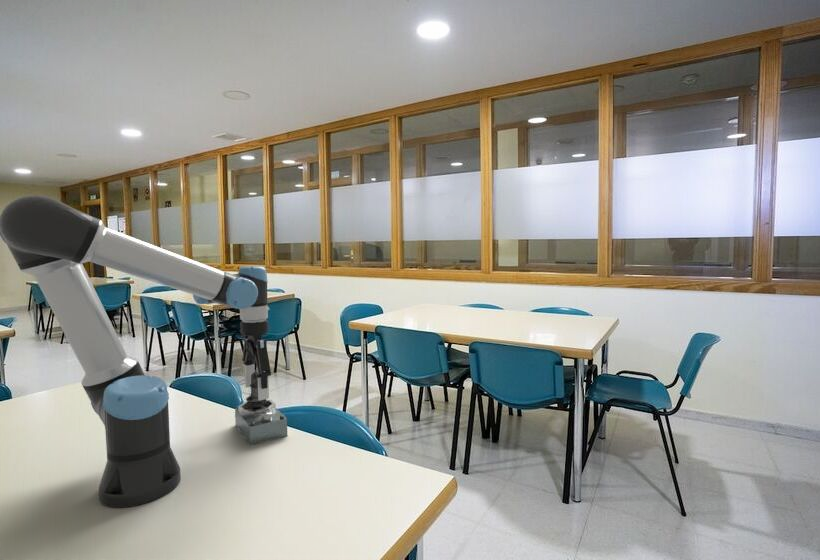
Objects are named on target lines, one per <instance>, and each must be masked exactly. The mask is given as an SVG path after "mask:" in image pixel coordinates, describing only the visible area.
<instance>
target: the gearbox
mask: <svg viewBox="0 0 820 560" xmlns="http://www.w3.org/2000/svg"><path fill="white" fill-rule="evenodd" d="M263 406H265V407H266V408H265V409H260V410H255V411H254V410H248V409H249V408H250V406H249V405H248V403H247V401H244V402H243V403H242V404H240V405H238V406H237V407H235V408H234V418H235V419H234V421H235V426H236V428H237V429H238V430H239V432H240V433H241V435H242V436H243V438H245V440H246V442H248V444H249V445H250V446H253V445H254V446H255V445H257V444H261V443H264V442H269V441H272V440H277V439H280V438H284V437H288V418H287V417H286V415H284V413H282V411H280V410H279V409H278V408H276V403H275V402H274V400H272V399H266V402H265V404H264V405H263Z"/></svg>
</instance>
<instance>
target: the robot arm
mask: <svg viewBox="0 0 820 560" xmlns="http://www.w3.org/2000/svg"><path fill="white" fill-rule="evenodd" d="M0 238H1V239H2V241H3V242H4V243H5V244H6V245H7V247H8V250H9V251H10V253H11V254H12V257H13V259H14V261H15V262H16V265H17V266H18V268H19V271H20V272H22V273H25V274H28V275H31V276H33V277H34V278H35V280H36V283H37V284H38V286H39V288H40V290H41V292H42V293H43V296H44V298H45V299H46V301H47V303H48V305H49V306H50V309H51V311H52V313H53V314H54V316H55V318H56V320H57V322H58V325H59V326H60V327H61V330H62V332H63V334H64V335H65V338H66V339H67V342H68V343H69V345H70V347H71V349H72V351H73V352H74V355H75V356H76V358H77V360H78V362H79V364H80V366H81V367H82V369H83V371H84V376H83V378H82V380H81V382H80V383H81V386H82V388H83V389H84V391H85V394H87V398H88V399H89V401H90V405H91V407H92V409H93V410H94V412H95V413H96V414H97V416H98V417H99V419H100V420H101V422H102V424H103V425H104V429H105V430H104V431H105V444H106V448H105V449H106V463H105V466H104V470H103V473H102V476H101V478H100V479H101V480H100V483H99V486H98V500H99V502H100V504H102V506H103V505H104V506H106V507H110V508H128V507H134V506H139V505H143V504H146V503H150V502H152V501H154V500H155V501H156V500H157V499H159V498H161V497H164V496H165V495H167V494H169V493H170V492H172V490H173V491H174V489H176V487H177V486H178V485H179V483H180V481H181V479H182V478H181V468H180V465H179V463H178V460H177V459H176V455H175V454H174V451H173V449H172V448H171V441H170V440H171V439H170V438H171V436H170V434H171V432H170V414H169V409H170V408H169V400H170V398H169V397H170V396H169V391H168V385H167V383H166V382H165V381H164V380H163V379H162V378H160V377H158V376H154V375H152V376H151V375H145V374H146V373H145V372H144V370H143V368H142V366H141V364H140V363H139V359H138V358H136V357H132V356H130V355H129V356H128V354H127V352H126V351H125V348H124V346H123V345H122V342H121V341H120V339H119V336H118V334H117V332H116V330H115V328H114V326H113V324H112V322H111V320H110V318H109V316H108V314H107V312H106V309H105V307H104V305H103V303H102V302H101V299H100V297H99V295H98V293H97V291H96V289H95V286H94V285H93V283H92V281H91V279H90V277H89V275H88V272H87V270H86V269H85V267H84V265H83V264H84V263H88V262H90V263H93V264H96V265H98V266H103V267H105V268H109V269H111V270H115V271H118V272H121V273H124V274H128V275H131V276H133V277H137V278H140V279H143V280H146V281H149V282H152V283H156V284H159V285H162V286H165V287H168V288H171V289H175V290H177V291H180V292H184V293H187V294H190V295H192V297H193V300H194V302H195V303H196V304H197V305H210V304H217V305H222V306H227V307H230V308H233V309H235V310H239V320H241V322H240V323H239V325H240V334H241V336H243V337H244V339H243V340H244V341H243V348H242V350H243V351H242V358H241V360H242V362H243V364H244V385H245V386H244V387H245V388H251V387H250V385H251V374H252V373H254V372H255V370H257V372H258V374H259V375H257V376H256V378H258V400H264V399H268V400H270V393H269V392H270V391H269V390H270V389H269V388H270V387H269V386H270V385H269V376H271V375H272V372H271V366H270V364H271V363H270V360H269V359H270V358H269V352H268V348H267V346H268V345H267V343H268V342H267V340H266V339H263V335H266V334H268V333H269V321H268V320H267V319H268V318H269V315H268V314H269V312H268V311H270V307H268V306H269V305H268V304H269V303H268V274H267V269H266V268H265V267H264V266H262V265H261V266H260V265H250V266H240V267H239V268H238V272H237V273H234V274H232V273H229V272H225V271H222V270H221V269H219V268H215V267H214V266H210V265H208V264H205V263H202V262H199V261H196V260H194V259H191V258H190V257H186V256H184V255H181V254H179V253H175V252H173V251H170V250H167V249H166V248H162V247H160V246H157V245H155V244H151V243H149V242H146V241H144V240H141V239H138V238H136V237H133V236H131V235H127V234H126V233H122V232H120V231H117V230H114V229H112V228H109V227H107V226H106V225H105V224H104V222H103V220H102V219H100V218H97V217H94V216H91V215H90V214H87V213H85V212H82V211H80V210H79V209H77V208H74V207H72V206H69V205H68V204H66V203H64V202H62V201H60V200H57V199H55V198H52V197H49V196H45V195H26V196H22V197H19V198H17V199H14V200H12V201H11V202H10V203H8V204H6V206H5V207H4V208H3V209H2V212H1V214H0ZM255 365H256V367H255ZM255 368H256V369H255Z"/></svg>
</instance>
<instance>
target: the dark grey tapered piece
mask: <svg viewBox="0 0 820 560" xmlns="http://www.w3.org/2000/svg"><path fill="white" fill-rule="evenodd" d="M257 375H259V374H258V370H257V369H255V372H254V373H252V374H251V385H250V387H249V388H250V394H249V396H247V397H246V399H245V400H246V402H247V403H248V405H249V406H250V408H249V409H248V410H254V411H255V410H260V409H265V408H266V407H265V406H263V405H264V404H265V402H266V399H264V400H258V378H256V376H257Z"/></svg>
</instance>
